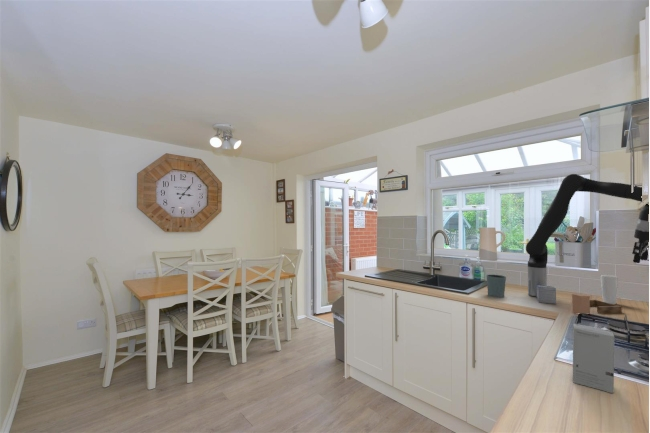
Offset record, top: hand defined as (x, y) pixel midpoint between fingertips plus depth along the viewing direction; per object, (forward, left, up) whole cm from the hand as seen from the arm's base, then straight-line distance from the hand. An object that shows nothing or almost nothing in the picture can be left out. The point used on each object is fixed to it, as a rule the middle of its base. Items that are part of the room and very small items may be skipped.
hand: (640, 261), depth 144 cm
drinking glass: (-9, +13, -25) cm, 30 cm away
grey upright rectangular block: (-36, -100, -25) cm, 109 cm away
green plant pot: (-62, -1, -25) cm, 67 cm away
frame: (-18, -6, -25) cm, 31 cm away
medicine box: (-38, -3, -25) cm, 45 cm away
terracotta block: (-26, -20, -25) cm, 41 cm away
